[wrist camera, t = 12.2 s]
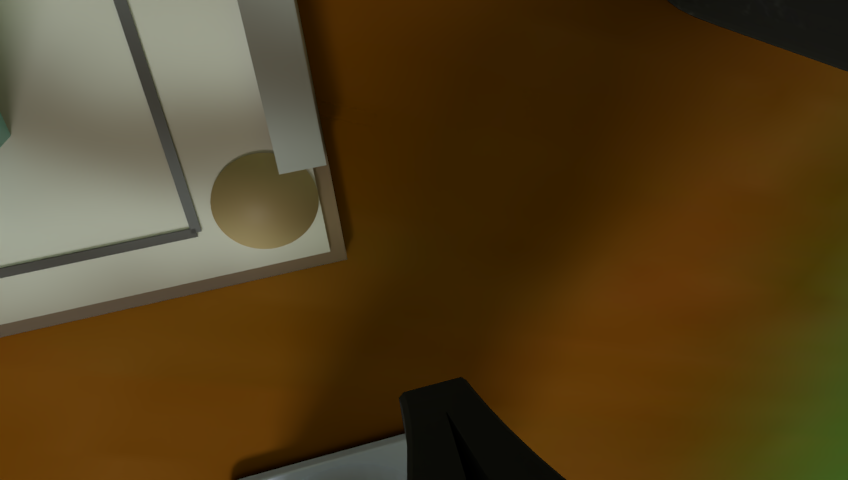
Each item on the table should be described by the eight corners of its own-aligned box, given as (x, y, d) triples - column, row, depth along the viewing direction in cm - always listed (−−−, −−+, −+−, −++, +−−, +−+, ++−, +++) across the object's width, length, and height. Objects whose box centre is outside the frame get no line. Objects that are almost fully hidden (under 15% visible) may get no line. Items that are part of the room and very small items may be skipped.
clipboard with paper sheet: (345, 253, 22) (350, 268, 21) (-133, 359, 19) (-149, 382, 18) (259, -183, 15) (261, -187, 15) (-468, -107, 13) (-517, -106, 12)
